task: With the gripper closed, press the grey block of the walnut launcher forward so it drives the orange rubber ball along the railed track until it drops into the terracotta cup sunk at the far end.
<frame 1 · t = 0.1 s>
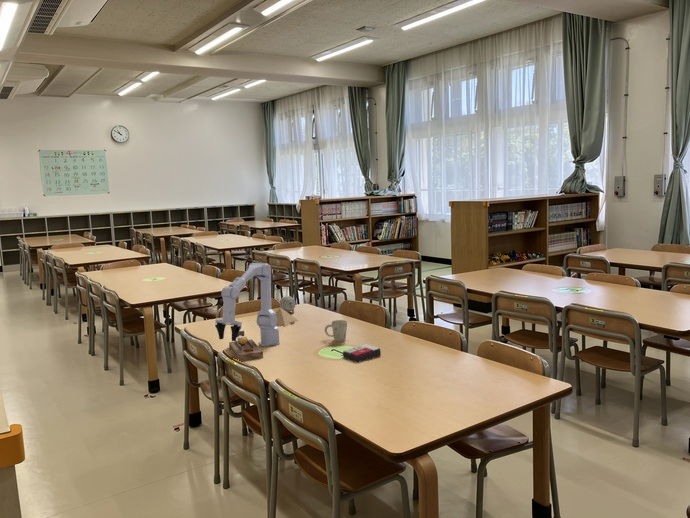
hand: (227, 340, 259), 11 cm above the table, tool pointing down, fingers open, 7 cm apart
launcher base: (245, 352, 274), on the table
model pyramid: (281, 323, 333), on the table
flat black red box: (361, 357, 263), on the table
toy sheep: (287, 313, 359), on the table
grey block: (240, 336, 283), point 5 cm above the table, slide at 0.0 cm
ball: (243, 341, 277), point 5 cm above the table, touching launcher base
mug: (336, 340, 292), on the table
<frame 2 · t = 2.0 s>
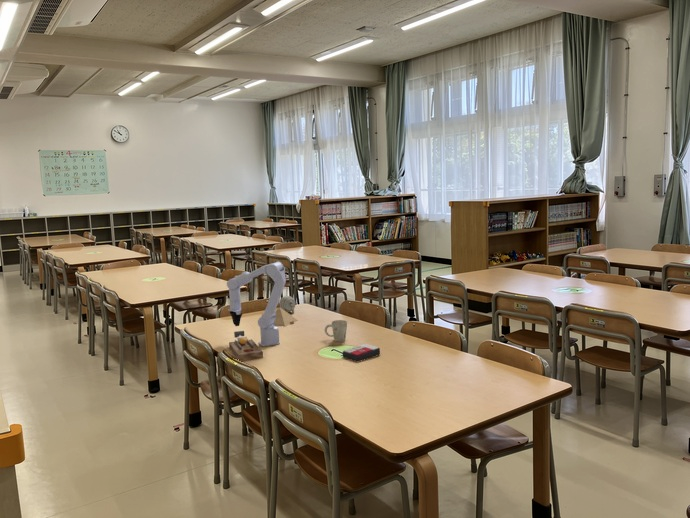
hand: (236, 325, 292), 9 cm above the table, tool pointing down, fingers open, 3 cm apart
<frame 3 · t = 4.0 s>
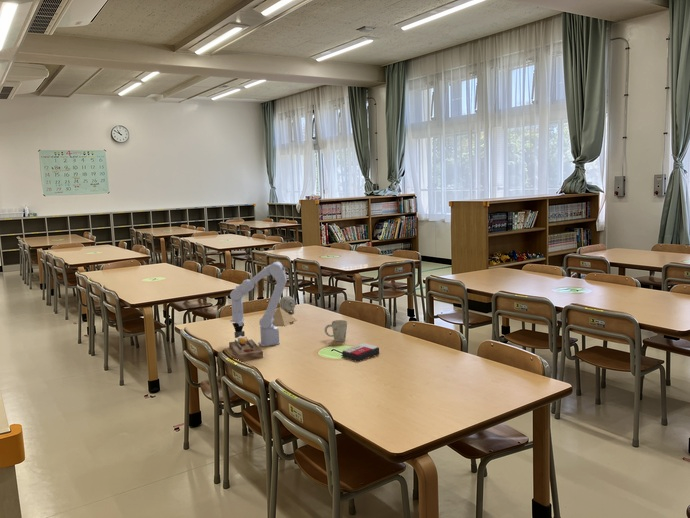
hand: (238, 336, 288), 4 cm above the table, tool pointing down, fingers closed
grey block: (240, 337, 282), point 5 cm above the table, slide at 0.7 cm, touching gripper
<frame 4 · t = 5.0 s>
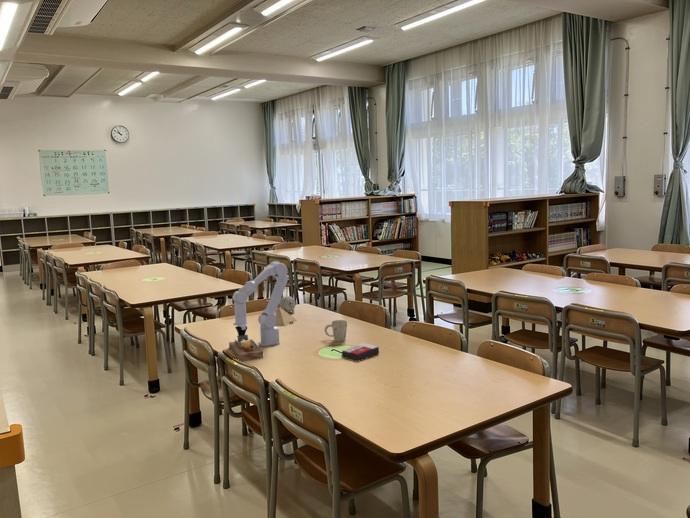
hand: (241, 340, 280), 4 cm above the table, tool pointing down, fingers closed
grey block: (244, 340, 275), point 5 cm above the table, slide at 8.7 cm, touching gripper
ball: (246, 345, 269), point 5 cm above the table, tilted 92°, touching launcher base
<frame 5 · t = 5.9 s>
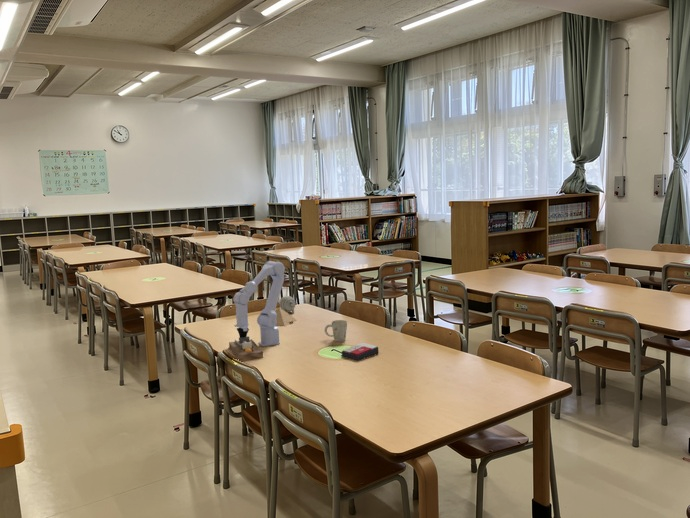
hand: (243, 341, 277), 4 cm above the table, tool pointing down, fingers closed
grey block: (245, 342, 272), point 5 cm above the table, slide at 12.3 cm, touching gripper
ball: (248, 351, 267), point 2 cm above the table, tilted 17°, touching launcher base
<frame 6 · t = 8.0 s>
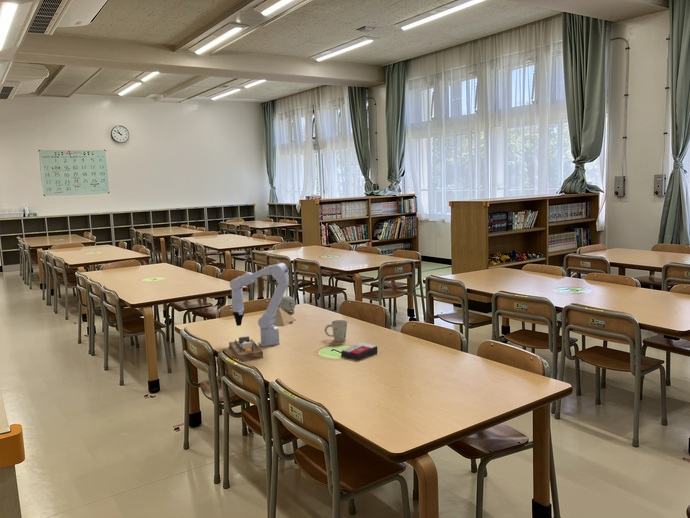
hand: (238, 325, 290), 9 cm above the table, tool pointing down, fingers closed
grey block: (245, 342, 272), point 5 cm above the table, slide at 12.3 cm, touching ball
ball: (248, 351, 267), point 2 cm above the table, tilted 10°, touching launcher base, grey block
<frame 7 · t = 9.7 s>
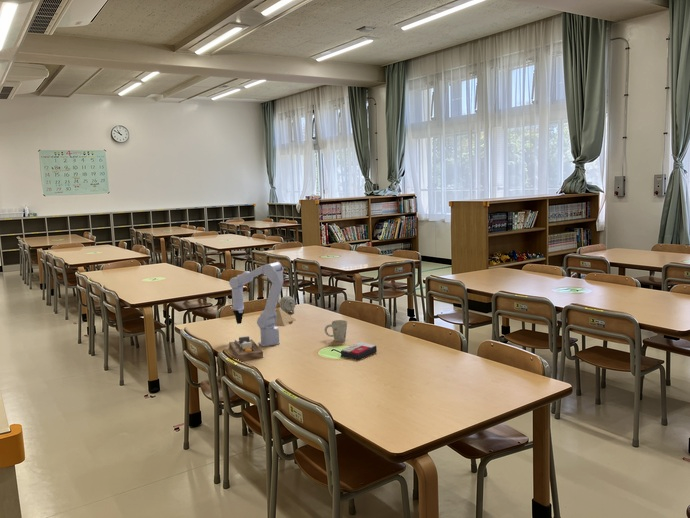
hand: (239, 323, 295), 9 cm above the table, tool pointing down, fingers closed
at the end: ball 0.5 cm from the target spot on the launcher base, point 2.3 cm above the launcher base's base; grey block slide at 12.3 cm; the gripper is holding nothing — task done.
